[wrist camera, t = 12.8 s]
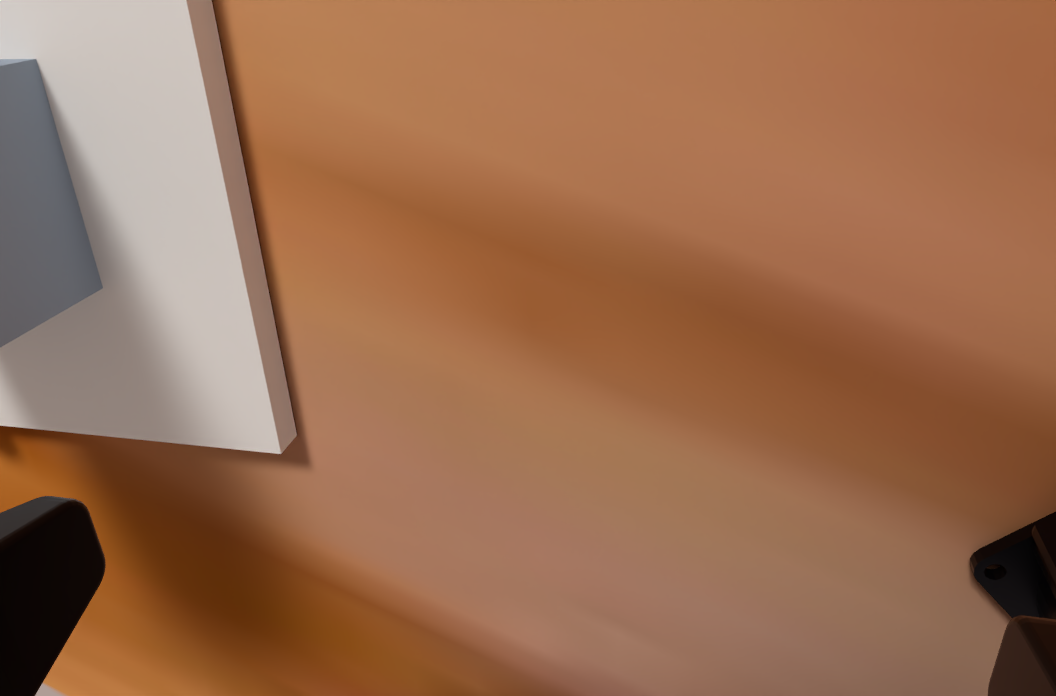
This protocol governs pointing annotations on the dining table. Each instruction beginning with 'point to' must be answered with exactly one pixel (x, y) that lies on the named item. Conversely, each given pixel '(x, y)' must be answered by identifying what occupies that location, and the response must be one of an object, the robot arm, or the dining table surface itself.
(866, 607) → the dining table surface
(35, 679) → the robot arm
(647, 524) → the dining table surface
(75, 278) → the tea box
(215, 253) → the white rectangular slab
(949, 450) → the dining table surface
